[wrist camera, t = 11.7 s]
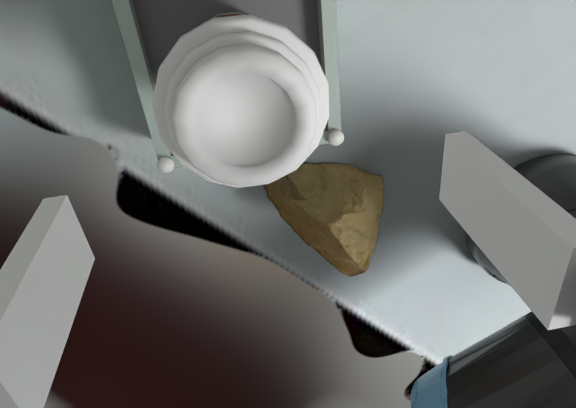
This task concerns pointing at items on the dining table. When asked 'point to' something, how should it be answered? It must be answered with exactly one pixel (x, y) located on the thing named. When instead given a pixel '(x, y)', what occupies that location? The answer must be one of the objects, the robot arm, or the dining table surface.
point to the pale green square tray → (201, 7)
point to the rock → (332, 211)
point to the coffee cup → (241, 100)
